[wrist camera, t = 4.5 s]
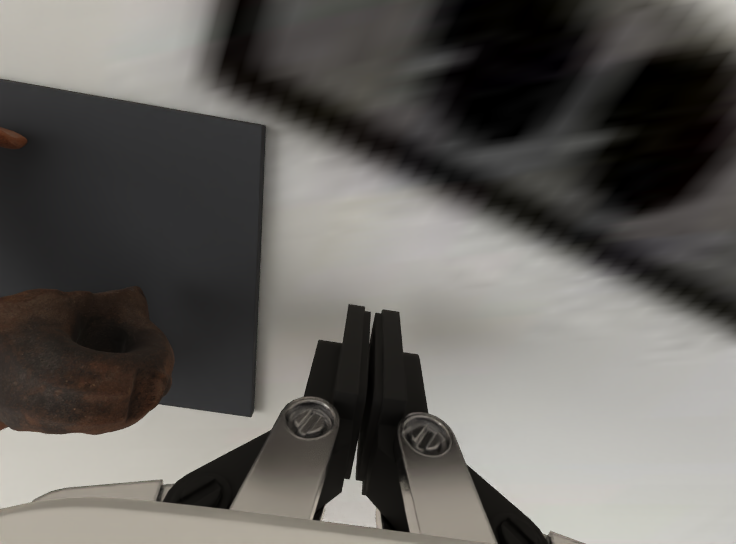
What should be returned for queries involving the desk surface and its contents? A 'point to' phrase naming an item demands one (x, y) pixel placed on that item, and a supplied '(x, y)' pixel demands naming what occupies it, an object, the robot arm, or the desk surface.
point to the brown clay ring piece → (78, 356)
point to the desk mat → (142, 224)
